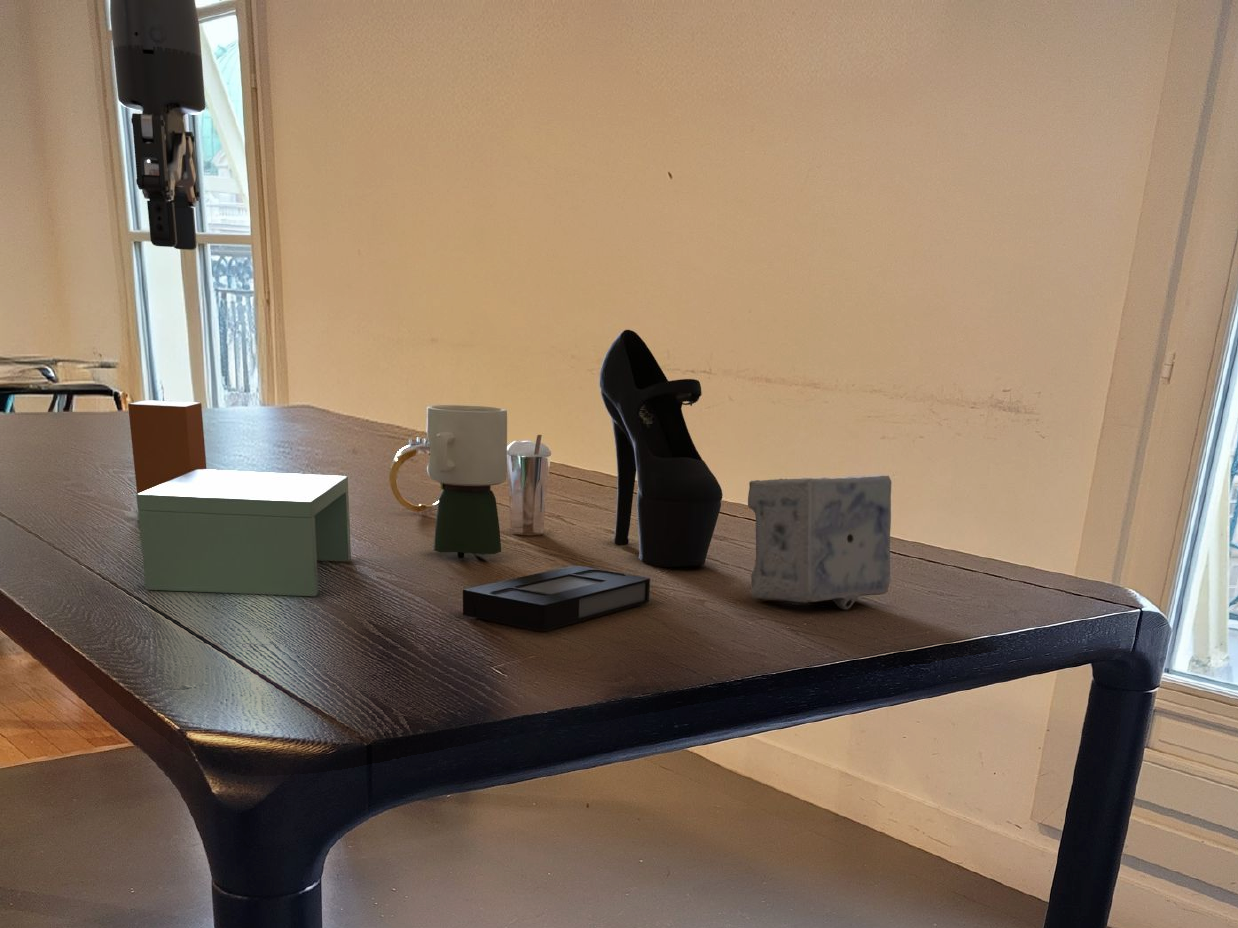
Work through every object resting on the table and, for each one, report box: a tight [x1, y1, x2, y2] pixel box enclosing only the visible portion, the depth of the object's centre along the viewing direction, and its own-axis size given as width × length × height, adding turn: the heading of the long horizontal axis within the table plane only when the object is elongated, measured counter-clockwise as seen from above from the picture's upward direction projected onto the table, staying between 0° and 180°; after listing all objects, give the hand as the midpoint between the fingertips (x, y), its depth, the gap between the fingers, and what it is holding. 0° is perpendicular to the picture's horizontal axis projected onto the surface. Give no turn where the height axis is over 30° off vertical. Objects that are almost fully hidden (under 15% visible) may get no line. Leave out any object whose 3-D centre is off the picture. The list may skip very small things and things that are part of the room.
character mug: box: [425, 404, 508, 560], centre depth 116 cm, size 11×7×13 cm, turn 161°
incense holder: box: [747, 474, 892, 611], centre depth 105 cm, size 10×8×10 cm
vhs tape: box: [462, 564, 651, 632], centre depth 99 cm, size 8×14×2 cm, turn 147°
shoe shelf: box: [135, 469, 352, 597], centre depth 105 cm, size 13×16×7 cm
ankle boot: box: [127, 399, 208, 521], centre depth 128 cm, size 12×6×11 cm, turn 92°
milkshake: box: [507, 434, 552, 537], centre depth 129 cm, size 4×5×10 cm
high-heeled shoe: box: [598, 329, 723, 568], centre depth 119 cm, size 8×19×20 cm, turn 32°
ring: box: [389, 436, 438, 516], centre depth 138 cm, size 7×3×8 cm, turn 100°
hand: (174, 247), depth 121 cm, fingers open, 8 cm apart
